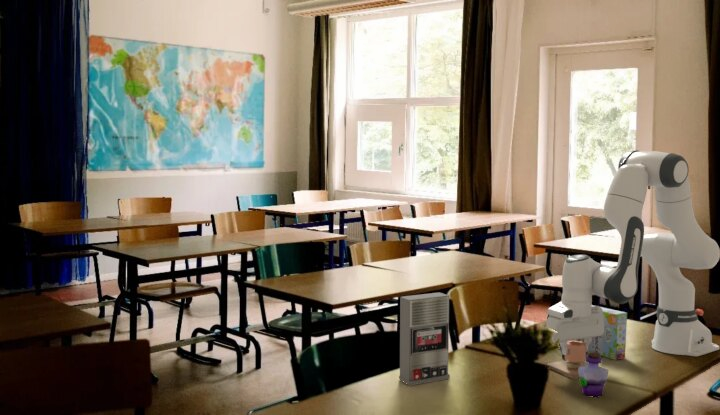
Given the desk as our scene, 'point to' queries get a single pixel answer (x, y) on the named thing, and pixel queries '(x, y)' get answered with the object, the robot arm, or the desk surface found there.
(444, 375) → the cassette tape recorder
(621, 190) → the robot arm
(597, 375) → the potion bottle
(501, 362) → the desk surface
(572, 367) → the stand
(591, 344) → the snack box
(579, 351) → the pink cylinder
